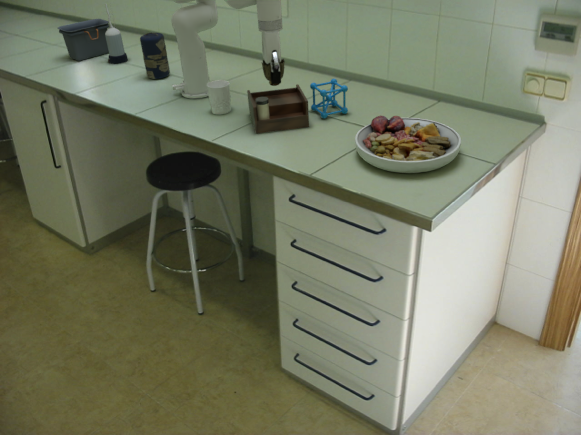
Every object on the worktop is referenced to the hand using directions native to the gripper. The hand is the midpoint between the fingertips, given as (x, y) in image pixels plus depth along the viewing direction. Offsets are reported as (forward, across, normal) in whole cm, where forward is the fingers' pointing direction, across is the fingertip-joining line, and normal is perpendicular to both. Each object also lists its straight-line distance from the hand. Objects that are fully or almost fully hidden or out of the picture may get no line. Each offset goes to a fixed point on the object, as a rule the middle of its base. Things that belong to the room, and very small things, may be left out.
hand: (274, 79), depth 195 cm
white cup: (+14, -12, -18) cm, 26 cm away
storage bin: (+13, -99, -71) cm, 123 cm away
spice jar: (+10, +8, -6) cm, 14 cm away
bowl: (+14, +38, +32) cm, 52 cm away
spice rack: (+13, +3, 0) cm, 14 cm away
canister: (+13, -58, -40) cm, 72 cm away
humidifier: (+13, -86, -58) cm, 105 cm away
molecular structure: (+14, +1, +18) cm, 23 cm away
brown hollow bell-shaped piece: (+2, 0, 0) cm, 2 cm away
